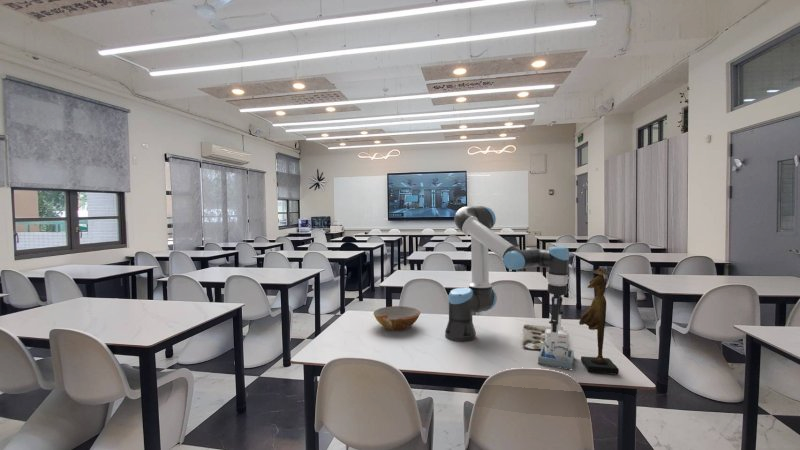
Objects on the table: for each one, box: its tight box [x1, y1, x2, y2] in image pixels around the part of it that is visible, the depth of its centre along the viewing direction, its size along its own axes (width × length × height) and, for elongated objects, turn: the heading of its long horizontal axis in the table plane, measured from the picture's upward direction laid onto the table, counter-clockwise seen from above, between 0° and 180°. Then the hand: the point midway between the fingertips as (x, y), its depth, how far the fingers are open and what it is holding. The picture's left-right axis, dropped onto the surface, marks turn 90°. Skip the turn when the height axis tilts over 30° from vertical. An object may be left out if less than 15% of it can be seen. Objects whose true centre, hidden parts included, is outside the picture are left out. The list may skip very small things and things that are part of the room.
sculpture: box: [578, 267, 620, 375], centre depth 146 cm, size 13×11×40 cm
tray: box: [537, 345, 575, 370], centre depth 154 cm, size 13×14×3 cm
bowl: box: [373, 305, 421, 331], centre depth 198 cm, size 25×25×8 cm
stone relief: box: [521, 324, 570, 351], centre depth 179 cm, size 32×3×20 cm
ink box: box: [544, 329, 569, 361], centre depth 154 cm, size 9×5×12 cm, turn 76°
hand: (555, 334), depth 154 cm, fingers open, 13 cm apart
